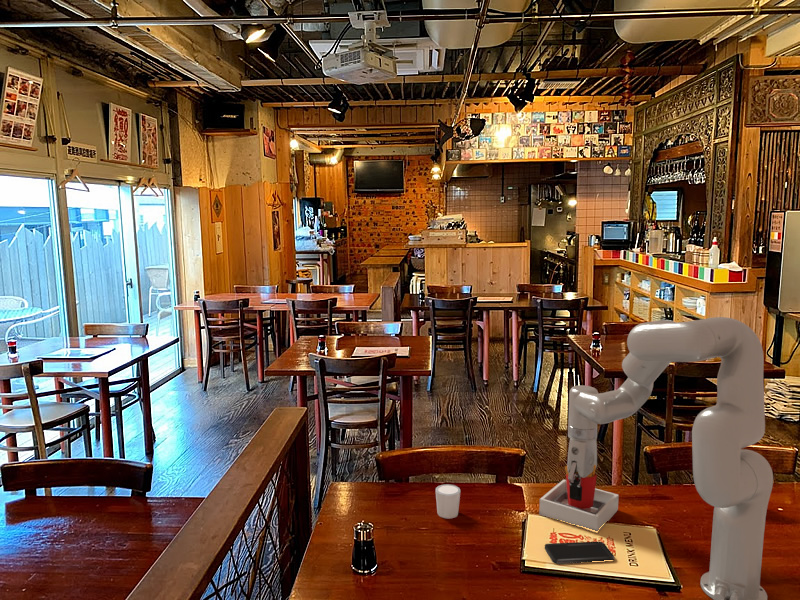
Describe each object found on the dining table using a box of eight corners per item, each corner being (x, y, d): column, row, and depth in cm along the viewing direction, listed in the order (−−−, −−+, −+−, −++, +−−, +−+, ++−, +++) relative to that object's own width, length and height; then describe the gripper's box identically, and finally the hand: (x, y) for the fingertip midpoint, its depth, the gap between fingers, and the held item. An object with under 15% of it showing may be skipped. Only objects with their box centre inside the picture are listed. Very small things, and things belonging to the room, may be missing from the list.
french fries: (591, 501, 166) (592, 460, 164) (597, 507, 162) (598, 465, 160) (562, 503, 165) (562, 461, 163) (567, 510, 161) (568, 467, 160)
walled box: (596, 533, 153) (597, 516, 152) (539, 514, 163) (539, 499, 162) (617, 510, 165) (618, 494, 165) (563, 493, 175) (563, 479, 175)
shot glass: (464, 516, 162) (465, 492, 161) (441, 521, 159) (442, 496, 158) (453, 505, 168) (453, 482, 167) (431, 510, 165) (431, 486, 165)
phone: (616, 558, 140) (553, 561, 139) (615, 563, 140) (553, 565, 139) (602, 541, 148) (543, 543, 147) (602, 545, 148) (543, 547, 147)
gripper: (583, 444, 152) (581, 511, 154) (607, 426, 165) (604, 488, 168) (556, 437, 157) (554, 502, 159) (581, 420, 170) (579, 481, 172)
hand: (580, 494), depth 163 cm, fingers closed on french fries, 5 cm apart
